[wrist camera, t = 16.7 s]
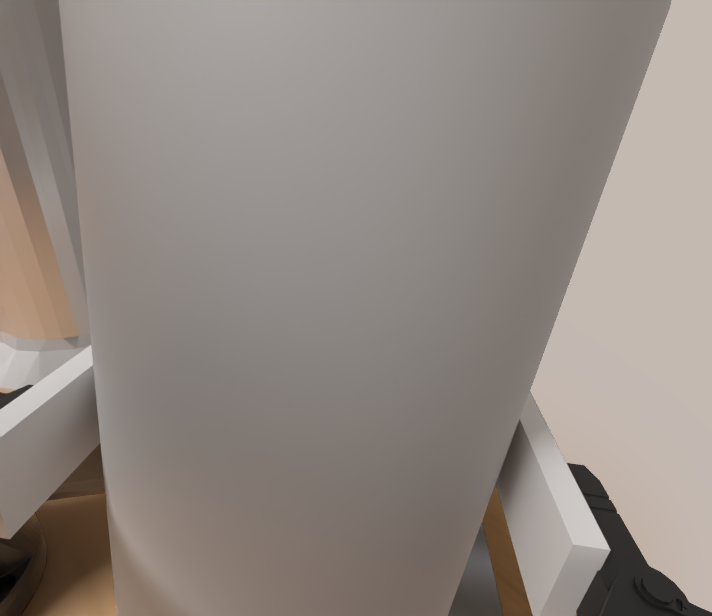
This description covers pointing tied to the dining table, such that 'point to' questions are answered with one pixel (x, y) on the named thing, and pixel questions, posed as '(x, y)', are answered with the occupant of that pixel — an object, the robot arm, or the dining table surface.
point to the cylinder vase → (328, 277)
